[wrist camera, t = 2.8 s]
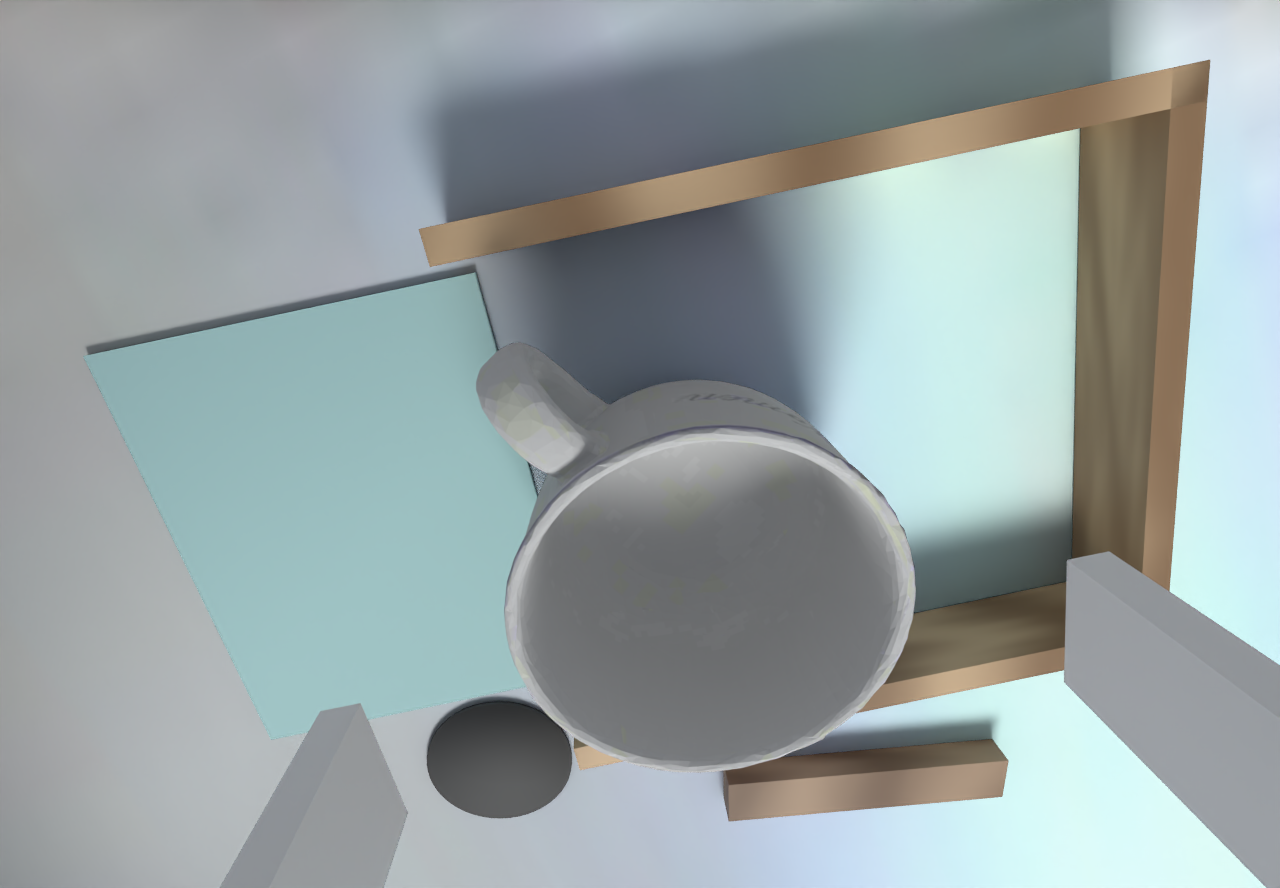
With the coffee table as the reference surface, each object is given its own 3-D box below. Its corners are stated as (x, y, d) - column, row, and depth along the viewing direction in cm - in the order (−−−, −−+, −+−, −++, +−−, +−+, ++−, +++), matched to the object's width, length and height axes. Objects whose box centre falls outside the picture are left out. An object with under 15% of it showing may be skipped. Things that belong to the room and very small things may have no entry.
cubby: (582, 703, 27) (580, 770, 24) (447, 227, 21) (418, 229, 18) (1095, 596, 27) (1164, 649, 24) (1112, 85, 21) (1210, 59, 17)
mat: (273, 736, 27) (271, 739, 26) (87, 355, 21) (82, 356, 21) (585, 671, 27) (585, 674, 26) (475, 272, 21) (474, 272, 21)
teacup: (864, 545, 26) (976, 681, 18) (623, 668, 27) (632, 845, 19) (700, 214, 21) (756, 210, 14) (421, 378, 22) (330, 458, 15)
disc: (452, 826, 29) (451, 830, 29) (409, 718, 27) (407, 722, 27) (585, 798, 29) (585, 802, 28) (552, 688, 27) (552, 691, 27)
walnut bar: (722, 790, 30) (728, 821, 28) (721, 755, 29) (728, 785, 27) (981, 767, 30) (1002, 796, 29) (987, 732, 29) (1008, 760, 28)
